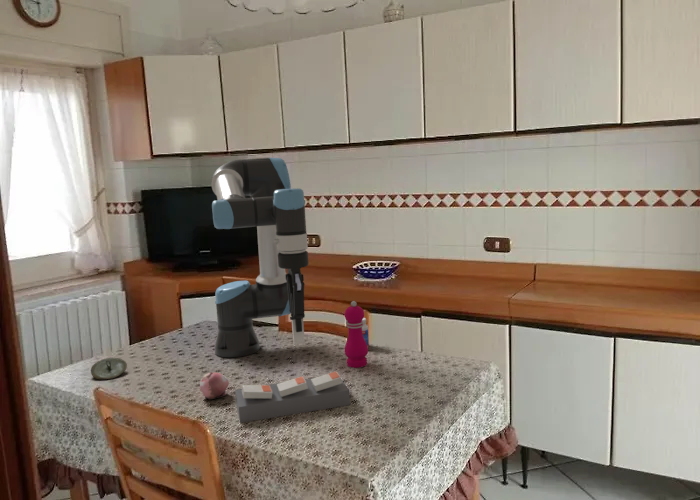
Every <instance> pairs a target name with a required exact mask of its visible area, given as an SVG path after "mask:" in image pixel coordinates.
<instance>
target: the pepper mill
mask: <svg viewBox="0 0 700 500" xmlns="http://www.w3.org/2000/svg"><path fill="white" fill-rule="evenodd" d="M363 318H365V311H364V309H363V308H362V307H361V306H359V305H358V304H357V302H356V301H355V300H353V301H351V302H350V306H348V307H347V308H346V309H345V311H344V319H345V320H346V321H347V322H346V328H348V329H347V330H348V334H347V335H348V336H347V339H346V342H345V345H344V354H345V357H347V358H346V366H347V367H349V368H351V369H353V368H354V369H358V368H364V367H366V366H367V365H368V358H367V355H368V353H369V347H367V344H366V342H365V340H364V338H363V334H362V326H363V321H362V319H363Z"/></svg>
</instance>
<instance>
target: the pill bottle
mask: <svg viewBox="0 0 700 500" xmlns="http://www.w3.org/2000/svg"><path fill="white" fill-rule="evenodd" d="M362 321H363V326H362V334H363V338H364V340H365V342H366V344H367V347H368V348H369V346H370V342H369V338H370V337H369V336H370V335H369V326H368V324H366V323H367V318H366V317H364V318H363V319H362Z"/></svg>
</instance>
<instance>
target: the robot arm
mask: <svg viewBox="0 0 700 500" xmlns="http://www.w3.org/2000/svg"><path fill="white" fill-rule="evenodd" d="M210 185H211V189H212V192H213V194H214V195H215V196H216V199H217V200H215V199H214V200H213V201H212V203H211V209H212V210H211V211H212V221H213V225H214V226H213V227H214V228H216V229H217V230H223V229H224V230H230V229H243V228H252V227H253V228H254V227H256V230H257V231H256V232H257V233H256V234H257V245H258V246H257V247H258V260H259V261H258V263H259V274H258V275H257V277H256V278H255V284H251V283H250V281H248V280H237V281H232V282H228V283H225V284H222V285H220V286H219V287H217V288H216V290H215V294H214V295H215V301H214V304H215V305H216V306H215V307H216V317H217V319H216V320H217V321H216V322H217V334H216V338H215V342H214V343H215V344H214V354H215V355H216V356H217V357H222V358H239V357H240V358H241V357H245V356H249V355H252V354H255V353H257V352H258V351H259V350H260V349H261V348H260V347H261V346H260V341H259V338H258V335H257V333H256V331H255V329H254V323H253V320H255V319H256V320H257V319H265V318H274V317H282V316H286V315H290V317H289V319H290V321H291V329H292V331H291V332H292V343H293V345H301V344H306V341H305V339H306V338H305V328H304V319H305V316H306V314H305V285H306V284H305V282H304V280H305V279H304V278H305V277H304V274H303V273H302V271H301V269H302V268H306V267H308V266H309V264H310V263H309V252H308V251H307V249H308V248H309V246H308V232H307V219H306V205H305V204H306V200H305V195H304V190H303V189H302V188H299V187H297V188H292V186H291V179H290V174H289V169H288V166H287V163H286V162H285V160H284V159H283V158H282V157H281V158H280V157H259V158H245V159H244V158H242V159H241V158H240V159H238V158H237V159H234V160H230V161H228V162H226V163H224V164H222V165H221V166H219V167H218V168H216V170H215V171H214V172H213V174H212V177H211V179H210ZM247 196H249V197H247ZM286 270H287V271H286Z"/></svg>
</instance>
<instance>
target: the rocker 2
mask: <svg viewBox="0 0 700 500" xmlns="http://www.w3.org/2000/svg"><path fill="white" fill-rule="evenodd" d="M278 383H279V384H277V383H276V384H277V387H278V390H279V393H280V395H281V397H283V396H286V395H289V394H292V393H295V392H298V391H301V390H304V389H307V388H308V387H307V383H306V381H305V378H304V376H303V375H301V376H298V377H296V378H292V379H289V380H286V381H282V382H278Z"/></svg>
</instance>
